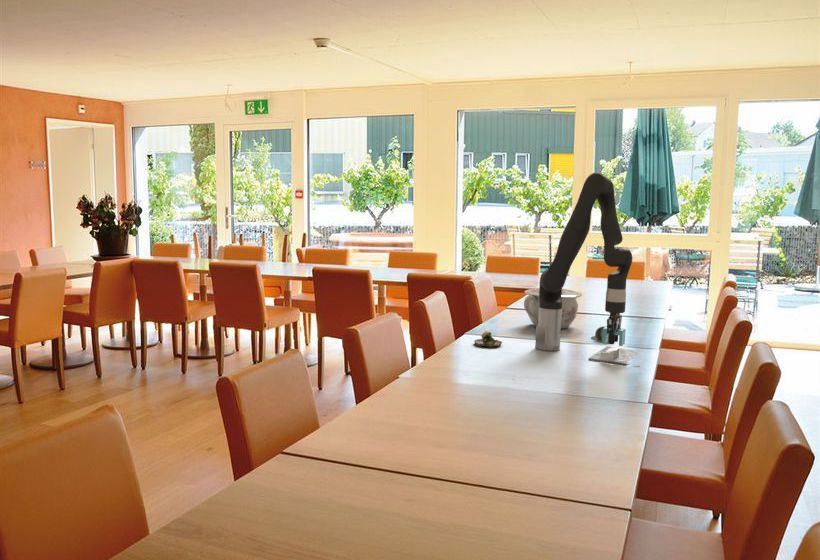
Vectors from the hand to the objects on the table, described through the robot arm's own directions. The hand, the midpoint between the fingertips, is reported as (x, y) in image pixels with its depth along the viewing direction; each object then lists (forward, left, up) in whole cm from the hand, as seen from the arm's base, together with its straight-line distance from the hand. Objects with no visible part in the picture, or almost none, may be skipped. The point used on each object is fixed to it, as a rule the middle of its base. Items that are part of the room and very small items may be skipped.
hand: (613, 342), depth 272 cm
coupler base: (+5, +3, -7) cm, 9 cm away
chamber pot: (+22, +63, -7) cm, 67 cm away
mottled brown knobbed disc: (-31, +40, -7) cm, 51 cm away
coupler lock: (0, 0, 0) cm, 0 cm away
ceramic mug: (+21, +27, -7) cm, 35 cm away
